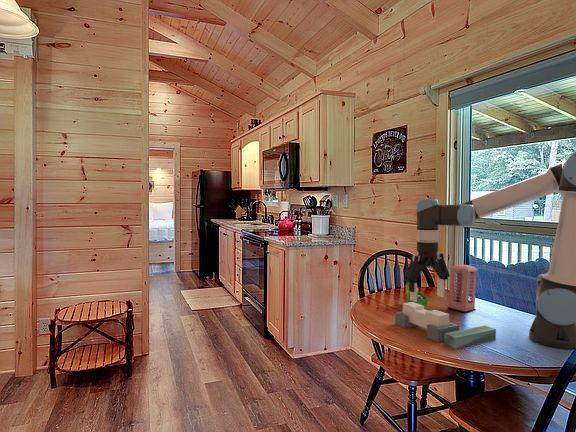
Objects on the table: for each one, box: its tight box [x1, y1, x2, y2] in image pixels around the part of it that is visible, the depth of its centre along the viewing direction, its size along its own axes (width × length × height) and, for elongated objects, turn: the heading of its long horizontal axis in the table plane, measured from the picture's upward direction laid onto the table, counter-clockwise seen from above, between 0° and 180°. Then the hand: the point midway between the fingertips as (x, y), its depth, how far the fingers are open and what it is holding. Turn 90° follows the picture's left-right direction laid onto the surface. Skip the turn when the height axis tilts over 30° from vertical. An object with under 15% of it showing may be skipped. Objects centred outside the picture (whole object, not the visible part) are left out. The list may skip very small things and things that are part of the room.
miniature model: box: [447, 264, 479, 314], centre depth 174 cm, size 9×9×20 cm
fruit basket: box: [405, 282, 429, 310], centre depth 178 cm, size 11×9×11 cm
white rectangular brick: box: [402, 302, 450, 330], centre depth 146 cm, size 18×5×6 cm, turn 26°
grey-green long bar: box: [443, 324, 497, 349], centre depth 135 cm, size 4×20×4 cm, turn 116°
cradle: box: [394, 310, 460, 343], centre depth 146 cm, size 22×10×4 cm, turn 26°
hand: (427, 298), depth 146 cm, fingers open, 13 cm apart
